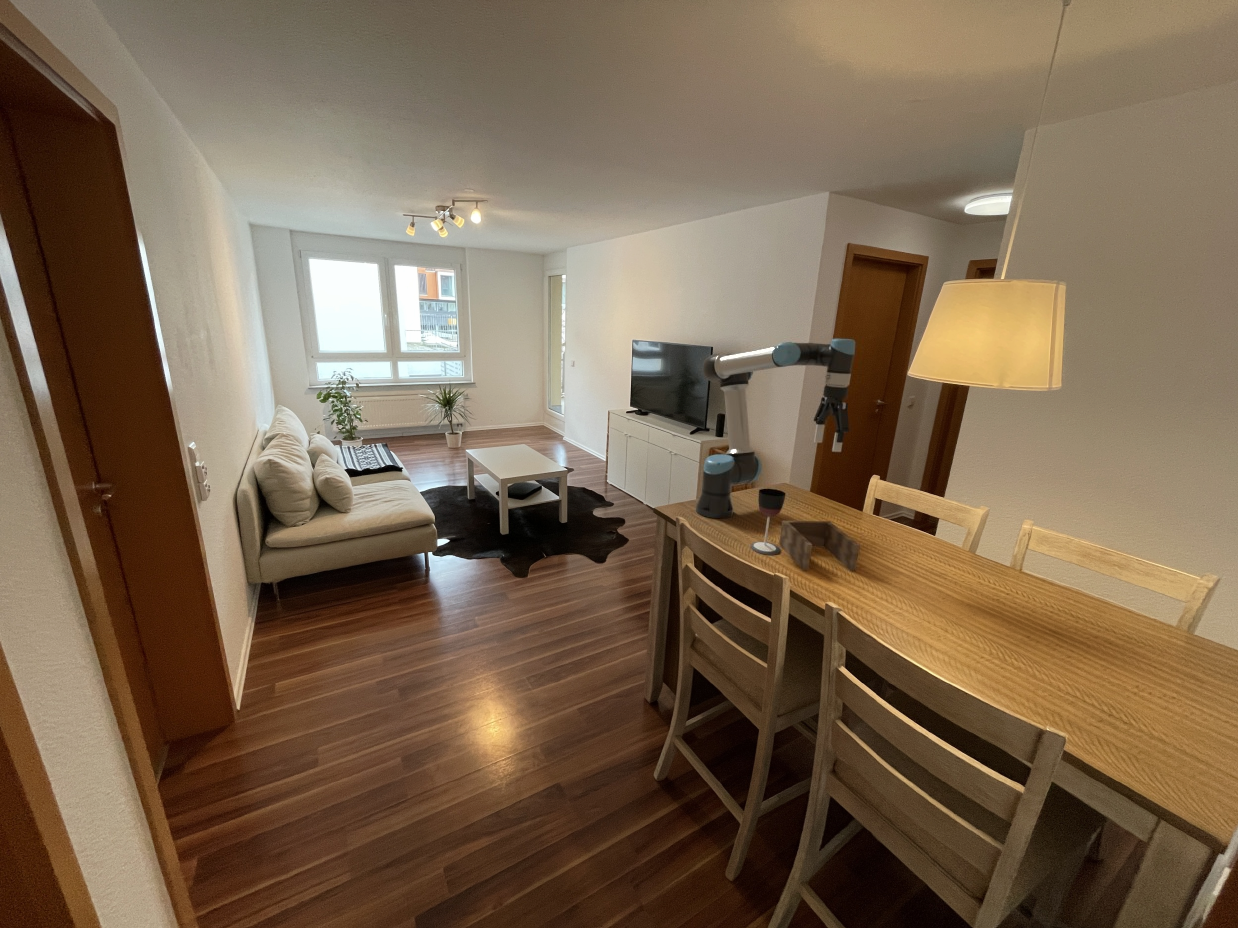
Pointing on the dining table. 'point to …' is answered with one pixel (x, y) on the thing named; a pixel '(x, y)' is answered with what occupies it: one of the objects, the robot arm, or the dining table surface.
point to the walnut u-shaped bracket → (817, 542)
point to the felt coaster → (766, 551)
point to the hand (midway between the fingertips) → (826, 446)
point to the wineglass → (769, 511)
